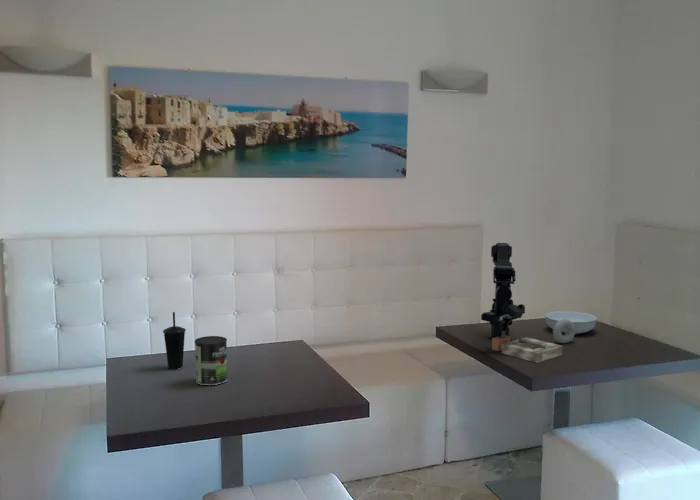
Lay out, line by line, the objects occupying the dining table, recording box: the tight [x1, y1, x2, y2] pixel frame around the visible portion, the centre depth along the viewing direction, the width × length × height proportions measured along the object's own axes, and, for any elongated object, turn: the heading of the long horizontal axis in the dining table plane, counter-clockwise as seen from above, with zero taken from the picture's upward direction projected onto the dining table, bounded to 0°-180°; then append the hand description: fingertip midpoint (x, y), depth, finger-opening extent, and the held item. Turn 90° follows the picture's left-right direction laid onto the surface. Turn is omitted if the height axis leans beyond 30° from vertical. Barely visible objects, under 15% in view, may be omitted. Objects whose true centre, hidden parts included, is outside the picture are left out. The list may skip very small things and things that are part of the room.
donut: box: [552, 319, 576, 344], centre depth 265 cm, size 10×4×10 cm, turn 108°
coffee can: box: [194, 335, 228, 387], centre depth 217 cm, size 10×10×14 cm
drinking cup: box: [162, 311, 187, 370], centre depth 231 cm, size 8×8×20 cm
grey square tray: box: [500, 336, 564, 364], centre depth 250 cm, size 16×16×5 cm
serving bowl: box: [544, 310, 597, 335], centre depth 284 cm, size 21×21×7 cm
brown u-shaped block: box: [491, 331, 511, 352], centre depth 257 cm, size 3×8×7 cm, turn 130°
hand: (501, 336), depth 257 cm, fingers closed on brown u-shaped block, 2 cm apart
